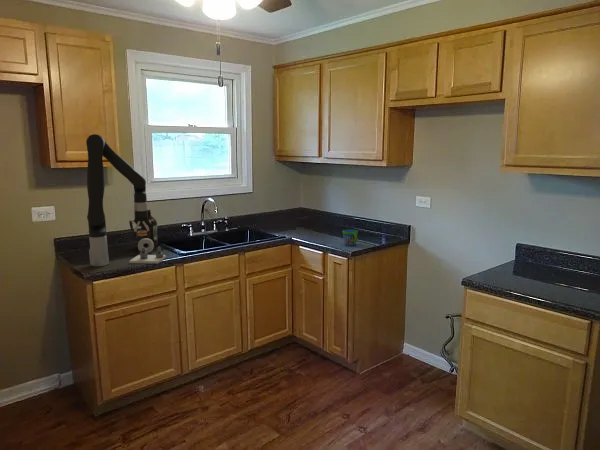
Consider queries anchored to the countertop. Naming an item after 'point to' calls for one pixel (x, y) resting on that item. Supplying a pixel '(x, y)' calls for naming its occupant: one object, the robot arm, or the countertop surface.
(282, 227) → the countertop surface
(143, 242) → the donut
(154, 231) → the olive oil
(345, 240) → the snack cup
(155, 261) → the board
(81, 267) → the countertop surface
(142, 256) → the stand rod
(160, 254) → the hub post
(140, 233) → the ring
